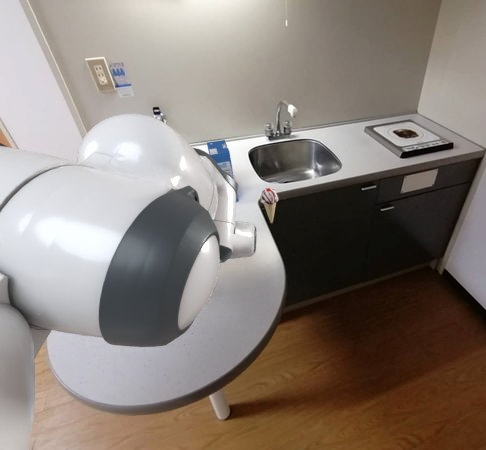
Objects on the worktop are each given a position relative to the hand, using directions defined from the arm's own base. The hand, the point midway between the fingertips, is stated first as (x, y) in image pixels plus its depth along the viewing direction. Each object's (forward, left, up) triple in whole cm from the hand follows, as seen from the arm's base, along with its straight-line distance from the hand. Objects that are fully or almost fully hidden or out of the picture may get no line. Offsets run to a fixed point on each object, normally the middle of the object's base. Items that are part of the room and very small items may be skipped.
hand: (125, 240), depth 70 cm
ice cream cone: (+32, -25, -19) cm, 45 cm away
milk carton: (+46, -4, -19) cm, 50 cm away
